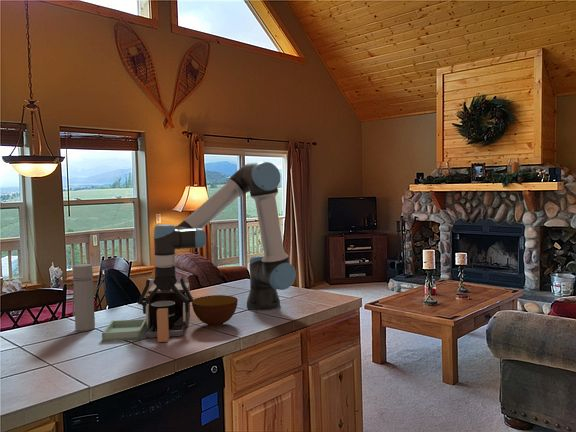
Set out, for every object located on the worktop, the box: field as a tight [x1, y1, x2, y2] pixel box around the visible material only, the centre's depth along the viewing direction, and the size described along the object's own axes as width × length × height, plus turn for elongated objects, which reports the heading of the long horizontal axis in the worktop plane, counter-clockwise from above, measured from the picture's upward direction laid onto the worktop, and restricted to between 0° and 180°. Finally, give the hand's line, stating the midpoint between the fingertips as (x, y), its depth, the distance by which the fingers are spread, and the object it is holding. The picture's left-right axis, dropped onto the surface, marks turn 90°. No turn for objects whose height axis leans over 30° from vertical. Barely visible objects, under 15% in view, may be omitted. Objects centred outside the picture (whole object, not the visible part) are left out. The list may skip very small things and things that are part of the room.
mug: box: [151, 301, 181, 331], centre depth 186 cm, size 12×9×10 cm
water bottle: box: [70, 263, 96, 332], centre depth 187 cm, size 9×8×25 cm
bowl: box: [191, 294, 239, 329], centre depth 190 cm, size 18×18×10 cm
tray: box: [101, 318, 148, 342], centre depth 181 cm, size 13×16×3 cm
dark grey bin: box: [146, 308, 186, 343], centre depth 180 cm, size 13×21×11 cm, turn 8°
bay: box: [146, 282, 191, 330], centre depth 195 cm, size 15×17×14 cm
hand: (166, 321), depth 184 cm, fingers open, 13 cm apart
